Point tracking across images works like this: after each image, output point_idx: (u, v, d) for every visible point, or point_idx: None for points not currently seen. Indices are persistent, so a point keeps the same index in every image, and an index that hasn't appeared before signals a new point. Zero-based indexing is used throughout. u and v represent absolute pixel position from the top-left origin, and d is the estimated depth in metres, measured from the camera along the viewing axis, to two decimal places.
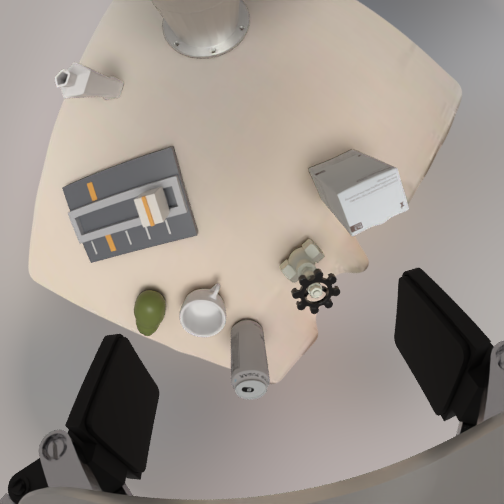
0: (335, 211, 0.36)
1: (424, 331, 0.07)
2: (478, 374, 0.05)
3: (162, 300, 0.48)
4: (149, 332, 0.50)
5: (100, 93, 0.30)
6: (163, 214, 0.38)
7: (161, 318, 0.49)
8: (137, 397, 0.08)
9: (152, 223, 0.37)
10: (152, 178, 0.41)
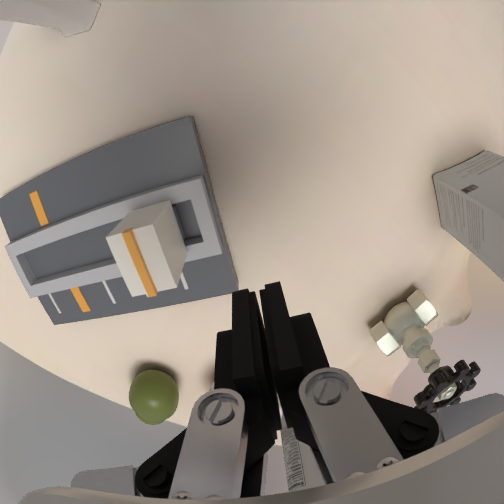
0: None
1: None
2: (295, 396, 0.06)
3: (173, 388, 0.28)
4: (156, 423, 0.30)
5: (43, 7, 0.09)
6: (176, 266, 0.17)
7: (173, 412, 0.28)
8: (268, 352, 0.09)
9: (152, 291, 0.16)
10: (149, 181, 0.20)
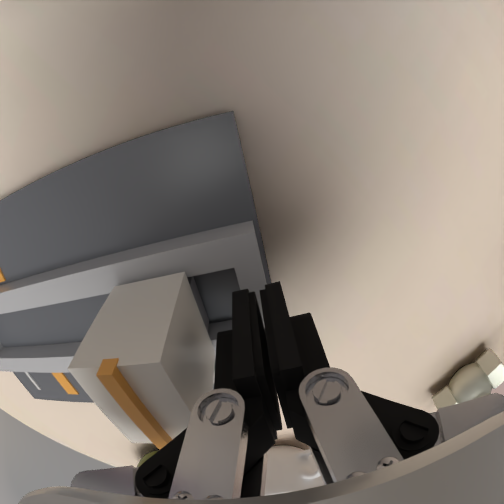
0: None
1: None
2: (295, 396, 0.06)
3: None
4: None
5: None
6: None
7: None
8: (268, 352, 0.09)
9: None
10: (154, 228, 0.11)
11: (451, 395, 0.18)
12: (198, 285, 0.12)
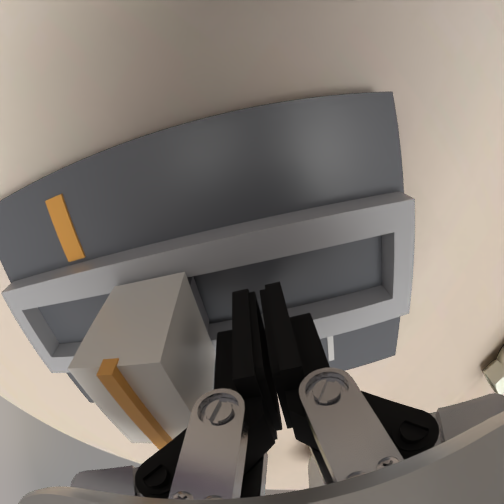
0: None
1: None
2: (295, 397, 0.06)
3: None
4: None
5: None
6: None
7: None
8: (268, 352, 0.09)
9: None
10: (313, 192, 0.11)
11: (501, 367, 0.17)
12: (344, 253, 0.12)
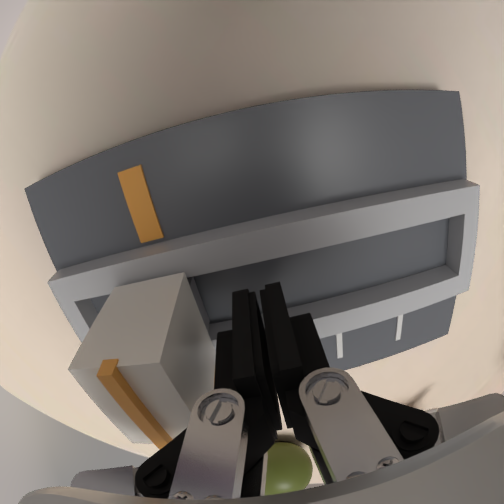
0: None
1: None
2: (295, 396, 0.06)
3: (310, 462, 0.19)
4: None
5: None
6: None
7: None
8: (268, 352, 0.09)
9: None
10: (401, 176, 0.11)
11: None
12: (420, 234, 0.12)
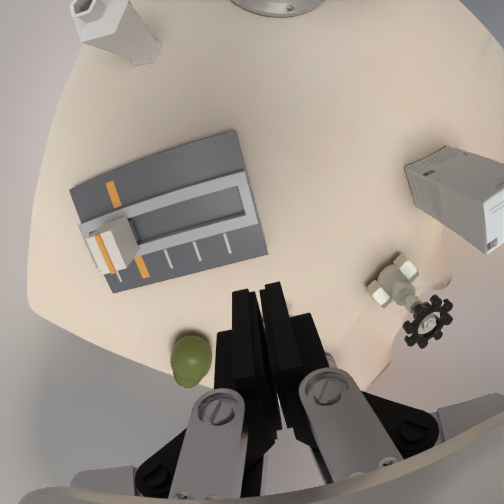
0: (456, 222, 0.24)
1: None
2: (295, 396, 0.06)
3: (208, 348, 0.37)
4: (192, 385, 0.39)
5: (134, 45, 0.19)
6: (127, 255, 0.27)
7: (208, 369, 0.37)
8: (268, 352, 0.09)
9: (112, 270, 0.26)
10: (206, 174, 0.29)
11: (377, 283, 0.35)
12: (223, 197, 0.30)
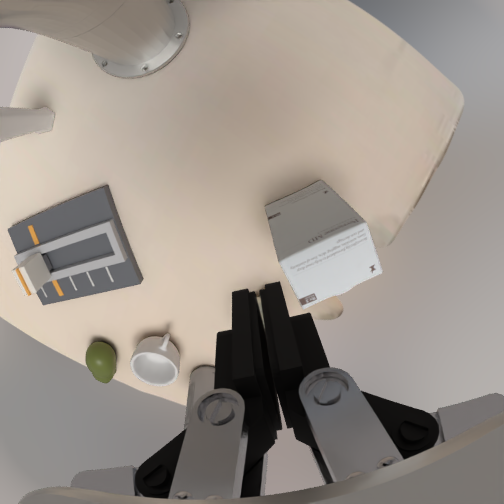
0: None
1: None
2: (295, 396, 0.06)
3: (110, 353, 0.42)
4: (104, 381, 0.44)
5: (21, 134, 0.24)
6: (38, 283, 0.32)
7: (111, 370, 0.43)
8: (268, 352, 0.09)
9: (28, 293, 0.31)
10: (88, 222, 0.34)
11: None
12: (101, 240, 0.35)
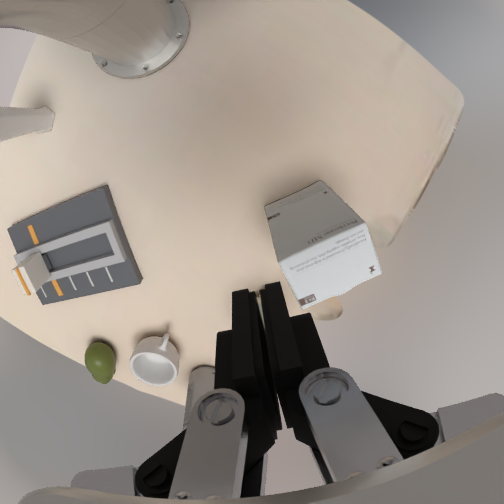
0: None
1: None
2: (295, 396, 0.06)
3: (109, 353, 0.42)
4: (104, 381, 0.44)
5: (21, 134, 0.24)
6: (38, 282, 0.32)
7: (111, 370, 0.43)
8: (267, 352, 0.09)
9: (28, 293, 0.31)
10: (87, 222, 0.34)
11: None
12: (101, 240, 0.35)
